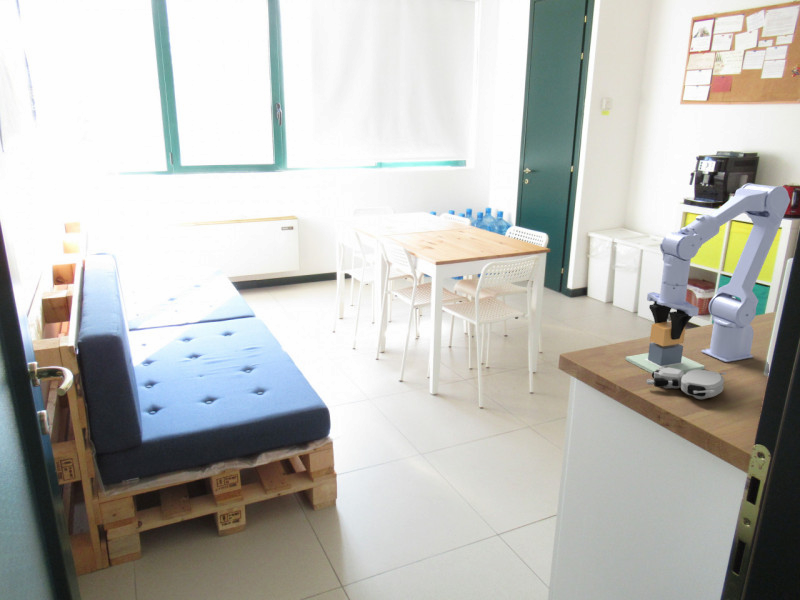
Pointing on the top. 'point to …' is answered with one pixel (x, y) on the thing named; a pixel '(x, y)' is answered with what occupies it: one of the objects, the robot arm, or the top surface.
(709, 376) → the robot toy
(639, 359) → the baseplate
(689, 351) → the top surface
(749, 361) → the top surface
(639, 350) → the top surface
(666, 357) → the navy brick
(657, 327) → the orange brick
